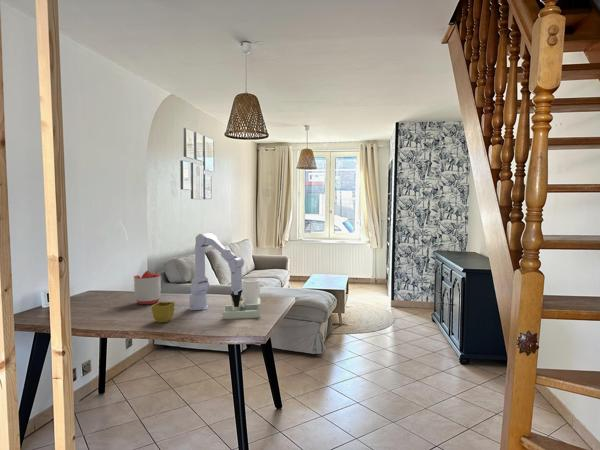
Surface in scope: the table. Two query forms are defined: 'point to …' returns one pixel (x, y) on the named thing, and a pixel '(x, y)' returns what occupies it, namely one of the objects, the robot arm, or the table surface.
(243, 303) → the plate
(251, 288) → the jar
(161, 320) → the flower pot
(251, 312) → the lane
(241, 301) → the spice jar
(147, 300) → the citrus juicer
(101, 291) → the table surface
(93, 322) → the table surface
